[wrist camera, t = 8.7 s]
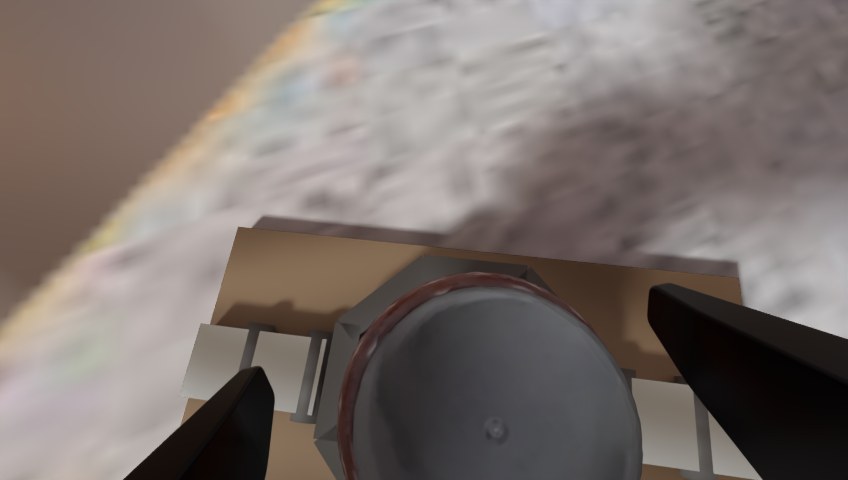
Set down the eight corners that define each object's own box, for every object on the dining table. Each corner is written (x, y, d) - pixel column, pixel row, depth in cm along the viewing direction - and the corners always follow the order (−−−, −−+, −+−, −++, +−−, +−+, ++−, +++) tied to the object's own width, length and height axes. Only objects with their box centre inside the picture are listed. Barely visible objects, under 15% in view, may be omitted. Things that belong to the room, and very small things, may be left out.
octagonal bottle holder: (765, 623, 14) (838, 679, 11) (165, 518, 16) (109, 545, 13) (726, 282, 18) (774, 265, 15) (246, 232, 20) (215, 209, 17)
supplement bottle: (572, 383, 16) (816, 389, 5) (485, 522, 15) (583, 893, 4) (449, 293, 18) (450, 158, 7) (360, 413, 16) (189, 477, 6)
